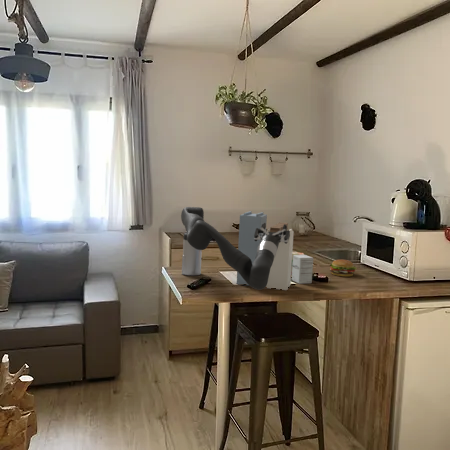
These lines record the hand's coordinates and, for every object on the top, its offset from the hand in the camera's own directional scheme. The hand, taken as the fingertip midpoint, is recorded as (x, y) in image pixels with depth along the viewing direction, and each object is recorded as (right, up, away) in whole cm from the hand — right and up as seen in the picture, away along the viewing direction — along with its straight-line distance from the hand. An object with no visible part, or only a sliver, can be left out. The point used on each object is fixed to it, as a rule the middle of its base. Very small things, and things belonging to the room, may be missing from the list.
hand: (274, 225), depth 203 cm
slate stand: (-9, -27, +22) cm, 36 cm away
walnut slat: (+3, -3, +12) cm, 13 cm away
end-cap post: (+3, -28, +17) cm, 33 cm away
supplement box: (+16, -28, +29) cm, 43 cm away
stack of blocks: (+7, -26, +41) cm, 49 cm away
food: (+41, -26, +50) cm, 70 cm away
